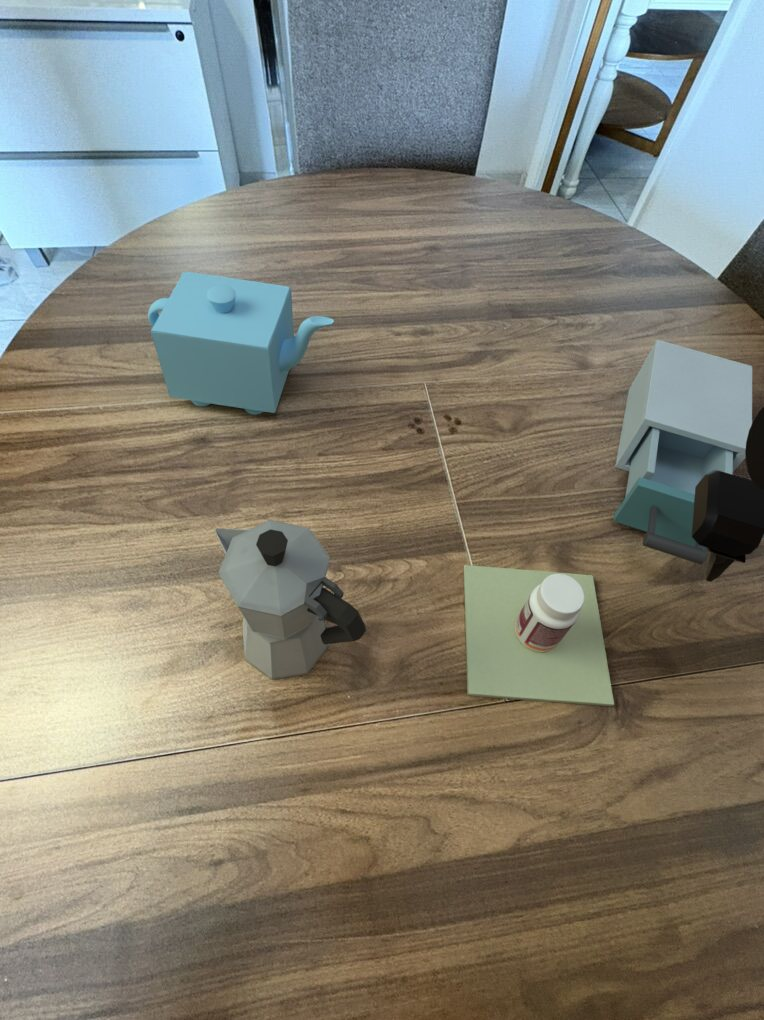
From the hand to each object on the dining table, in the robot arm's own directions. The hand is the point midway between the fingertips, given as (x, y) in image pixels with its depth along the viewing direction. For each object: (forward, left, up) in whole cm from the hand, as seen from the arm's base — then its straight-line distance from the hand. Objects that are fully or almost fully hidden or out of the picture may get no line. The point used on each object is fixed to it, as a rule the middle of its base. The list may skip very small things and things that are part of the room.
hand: (763, 594), depth 52 cm
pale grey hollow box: (+5, -29, -13) cm, 32 cm away
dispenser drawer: (+5, -17, -12) cm, 21 cm away
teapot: (+58, -16, -13) cm, 61 cm away
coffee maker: (+38, +14, -13) cm, 42 cm away
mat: (+16, +4, -13) cm, 21 cm away
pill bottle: (+15, +4, -12) cm, 20 cm away
